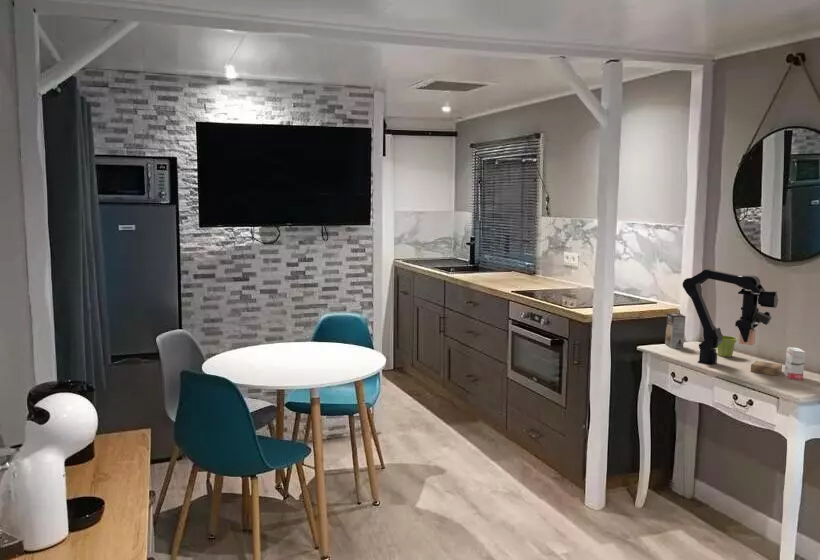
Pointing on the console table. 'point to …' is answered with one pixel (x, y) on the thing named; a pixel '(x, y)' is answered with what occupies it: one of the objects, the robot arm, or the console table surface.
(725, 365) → the console table surface
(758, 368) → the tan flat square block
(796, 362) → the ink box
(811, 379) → the console table surface
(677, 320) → the coffee box
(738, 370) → the console table surface
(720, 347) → the plant pot
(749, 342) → the peach block
